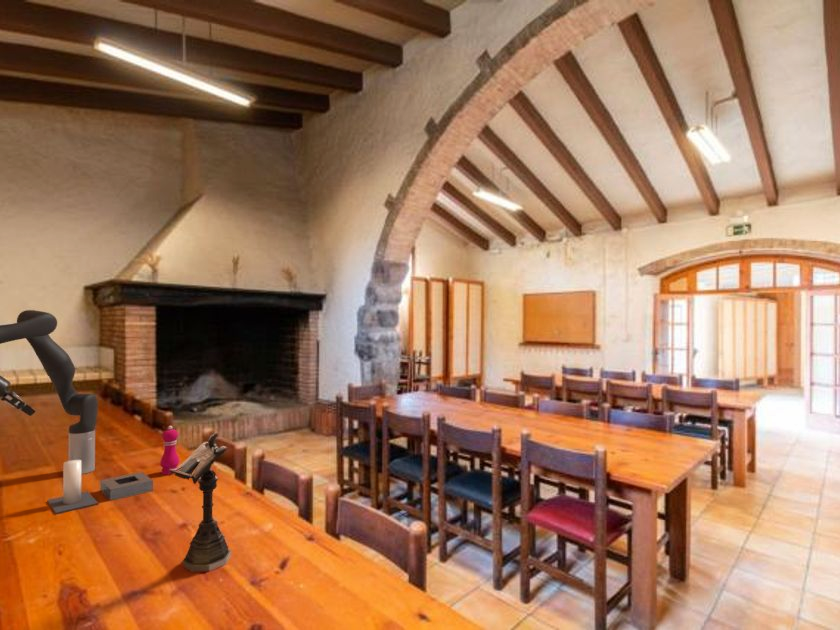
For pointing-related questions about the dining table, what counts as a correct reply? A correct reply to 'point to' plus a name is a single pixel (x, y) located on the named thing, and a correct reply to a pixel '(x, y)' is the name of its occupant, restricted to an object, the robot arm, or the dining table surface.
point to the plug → (71, 481)
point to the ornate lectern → (205, 510)
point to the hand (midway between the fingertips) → (31, 412)
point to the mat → (61, 507)
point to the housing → (126, 485)
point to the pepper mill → (169, 451)
